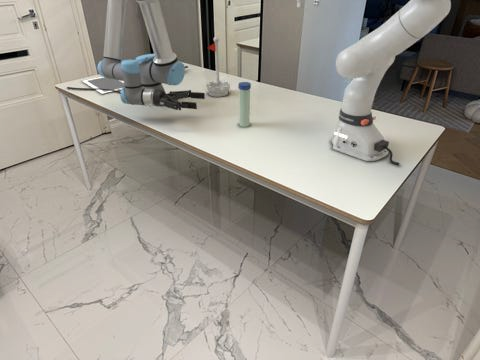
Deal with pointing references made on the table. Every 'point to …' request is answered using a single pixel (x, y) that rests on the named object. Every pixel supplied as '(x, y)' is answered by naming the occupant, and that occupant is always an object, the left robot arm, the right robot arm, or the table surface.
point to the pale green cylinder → (244, 107)
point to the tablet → (105, 84)
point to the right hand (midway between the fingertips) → (308, 6)
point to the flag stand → (217, 76)
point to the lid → (244, 85)
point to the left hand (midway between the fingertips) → (200, 100)
